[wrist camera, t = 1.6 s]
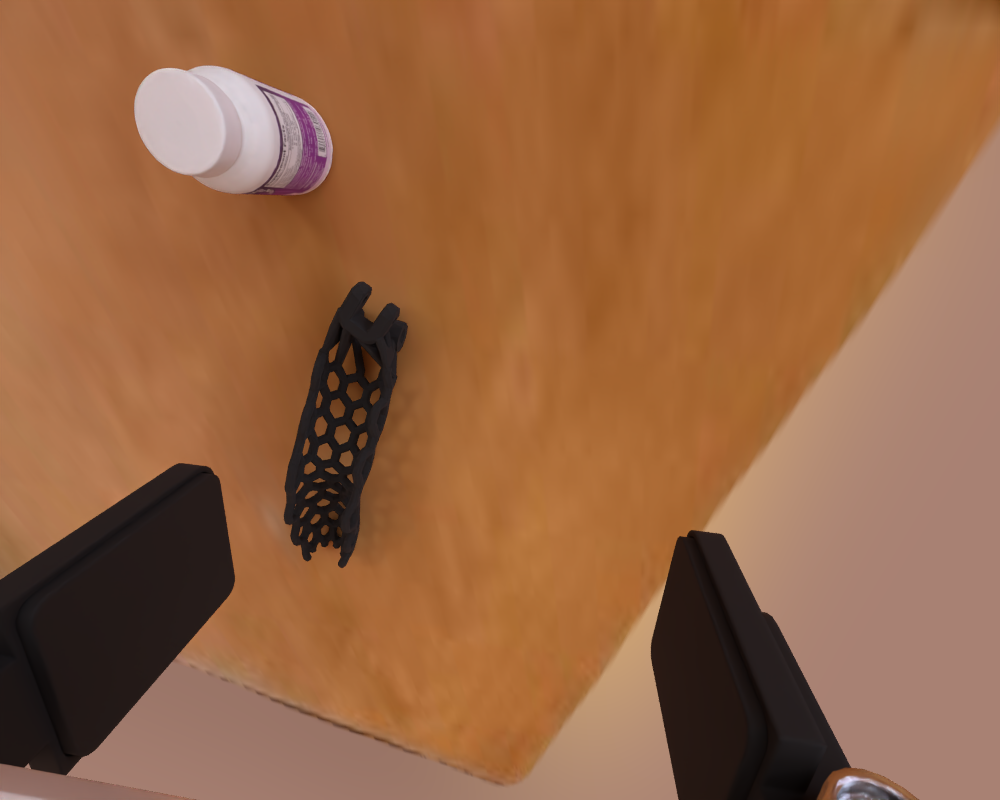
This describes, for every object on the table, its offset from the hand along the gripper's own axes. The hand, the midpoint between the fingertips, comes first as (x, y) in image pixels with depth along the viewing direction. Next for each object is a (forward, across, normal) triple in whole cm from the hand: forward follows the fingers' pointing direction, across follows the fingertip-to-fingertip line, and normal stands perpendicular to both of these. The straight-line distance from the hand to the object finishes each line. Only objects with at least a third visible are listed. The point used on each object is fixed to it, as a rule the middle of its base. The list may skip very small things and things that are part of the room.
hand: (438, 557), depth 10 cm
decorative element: (+24, +11, +9) cm, 28 cm away
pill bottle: (+23, +15, -9) cm, 29 cm away
